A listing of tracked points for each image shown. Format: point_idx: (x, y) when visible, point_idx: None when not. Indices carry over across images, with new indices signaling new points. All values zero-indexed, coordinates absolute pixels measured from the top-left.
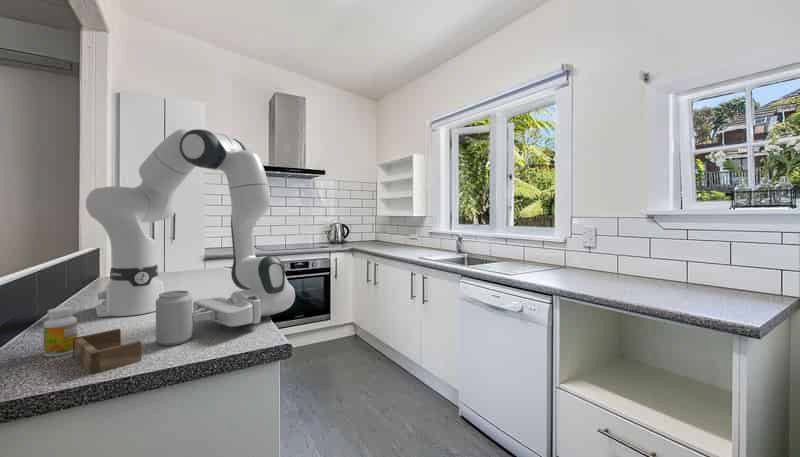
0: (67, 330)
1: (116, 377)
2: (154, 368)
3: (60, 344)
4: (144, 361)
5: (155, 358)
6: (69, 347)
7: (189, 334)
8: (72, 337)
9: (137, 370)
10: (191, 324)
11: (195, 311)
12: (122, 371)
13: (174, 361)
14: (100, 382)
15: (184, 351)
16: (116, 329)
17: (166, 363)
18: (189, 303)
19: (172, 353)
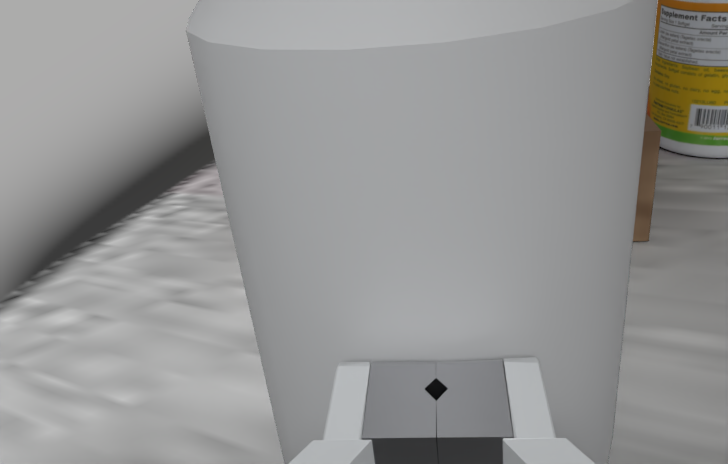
0: (664, 25)
1: (174, 199)
2: (92, 268)
3: (650, 83)
4: (229, 263)
5: (212, 293)
6: (661, 118)
7: (290, 456)
8: (675, 75)
9: (155, 235)
10: (298, 403)
11: (549, 434)
12: (210, 212)
13: (55, 329)
14: (189, 177)
15: (129, 406)
16: (647, 126)
17: (81, 304)
18: (211, 100)
19: (184, 356)
